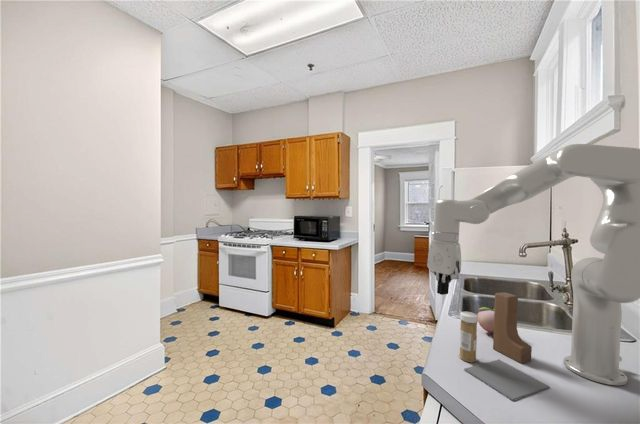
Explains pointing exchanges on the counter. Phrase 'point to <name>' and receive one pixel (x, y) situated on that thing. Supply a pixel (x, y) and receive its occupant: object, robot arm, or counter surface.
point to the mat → (506, 379)
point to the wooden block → (508, 329)
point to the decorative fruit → (486, 319)
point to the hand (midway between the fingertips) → (442, 293)
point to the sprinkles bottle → (468, 336)
